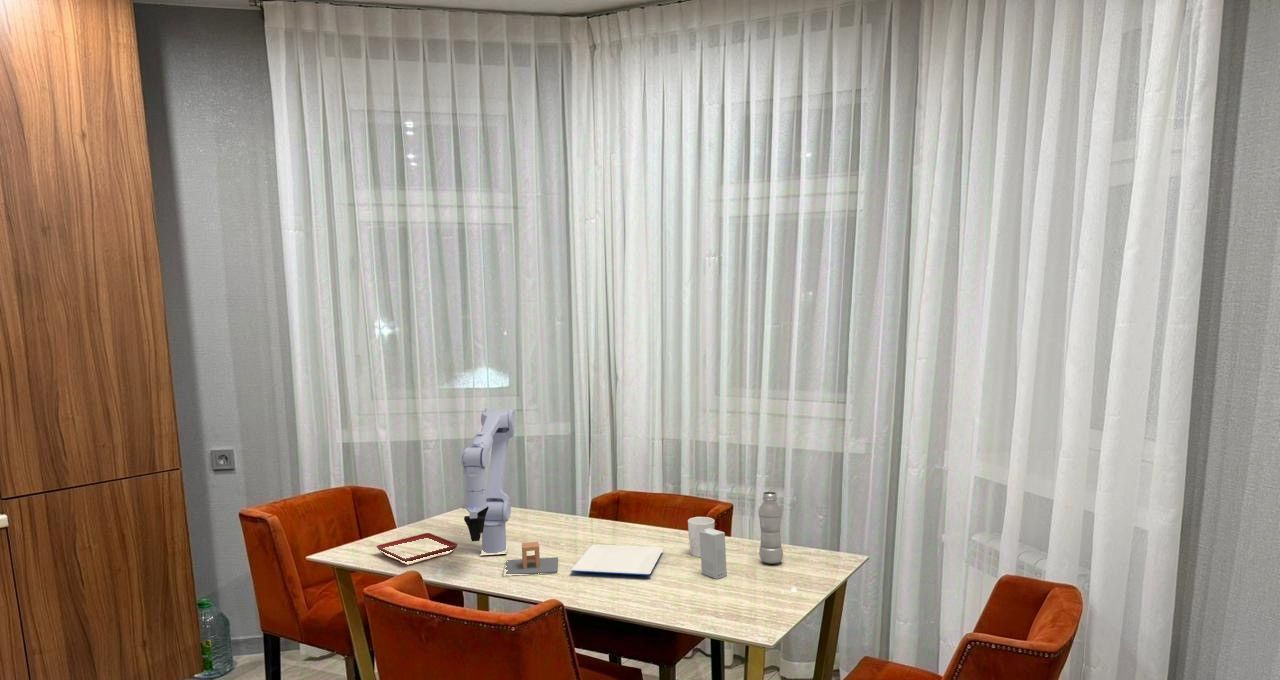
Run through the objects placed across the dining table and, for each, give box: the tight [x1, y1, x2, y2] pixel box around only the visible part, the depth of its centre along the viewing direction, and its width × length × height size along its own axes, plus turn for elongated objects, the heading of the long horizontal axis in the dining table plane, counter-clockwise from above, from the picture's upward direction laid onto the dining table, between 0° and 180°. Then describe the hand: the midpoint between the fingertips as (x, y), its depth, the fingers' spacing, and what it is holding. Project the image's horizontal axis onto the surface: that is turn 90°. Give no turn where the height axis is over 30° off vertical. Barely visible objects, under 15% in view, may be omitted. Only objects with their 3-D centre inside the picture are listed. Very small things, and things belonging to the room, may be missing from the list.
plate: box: [570, 543, 665, 576], centre depth 215 cm, size 22×22×2 cm
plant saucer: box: [376, 532, 459, 562], centre depth 228 cm, size 18×18×3 cm
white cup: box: [687, 516, 715, 558], centre depth 222 cm, size 8×8×10 cm
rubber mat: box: [504, 556, 559, 575], centre depth 214 cm, size 12×15×1 cm
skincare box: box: [700, 528, 728, 580], centre depth 204 cm, size 6×4×12 cm
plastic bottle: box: [757, 491, 784, 565], centre depth 213 cm, size 6×7×20 cm
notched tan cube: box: [521, 541, 540, 569], centre depth 214 cm, size 5×5×6 cm
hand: (477, 536), depth 213 cm, fingers open, 7 cm apart
